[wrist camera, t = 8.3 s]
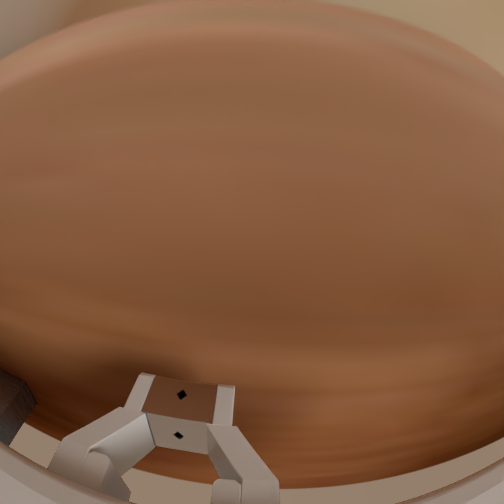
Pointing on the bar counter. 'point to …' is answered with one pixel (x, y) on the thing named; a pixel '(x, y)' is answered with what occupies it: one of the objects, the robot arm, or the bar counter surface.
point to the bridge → (13, 406)
